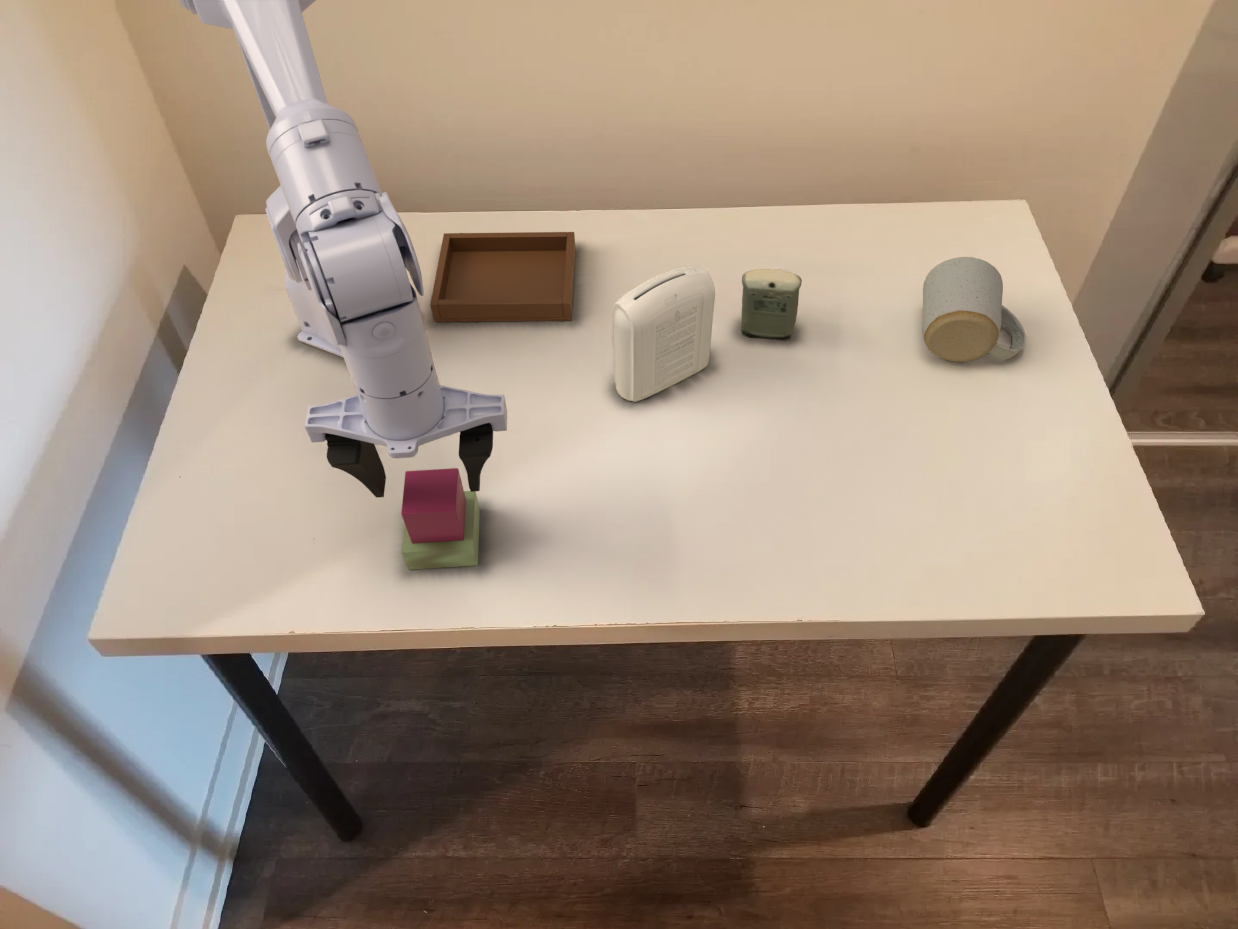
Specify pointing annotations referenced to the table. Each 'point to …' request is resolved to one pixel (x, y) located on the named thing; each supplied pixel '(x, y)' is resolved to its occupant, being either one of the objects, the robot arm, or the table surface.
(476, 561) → the base slab
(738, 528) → the table surface
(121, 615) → the table surface
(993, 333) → the ceramic mug
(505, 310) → the tray
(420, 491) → the pink block
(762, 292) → the grey-green labelled box
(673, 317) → the photo printer
